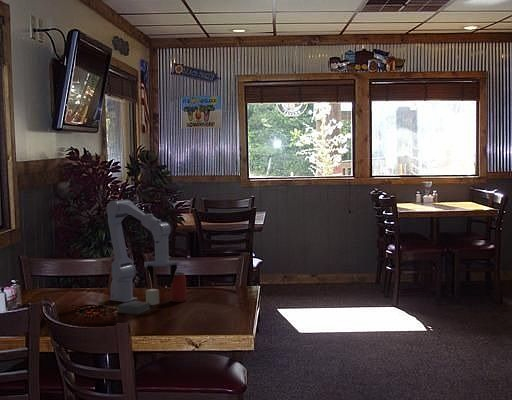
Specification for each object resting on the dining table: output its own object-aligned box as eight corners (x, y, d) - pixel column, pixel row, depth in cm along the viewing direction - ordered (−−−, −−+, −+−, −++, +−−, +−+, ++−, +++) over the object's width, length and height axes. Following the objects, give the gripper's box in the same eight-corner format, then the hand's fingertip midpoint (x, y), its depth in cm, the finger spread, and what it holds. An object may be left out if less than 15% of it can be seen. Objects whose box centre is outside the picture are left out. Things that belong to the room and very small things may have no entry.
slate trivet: (118, 312, 276) (118, 305, 276) (131, 307, 284) (131, 300, 284) (137, 314, 272) (136, 307, 272) (149, 309, 280) (149, 302, 280)
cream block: (146, 304, 291) (145, 290, 290) (152, 302, 294) (152, 288, 294) (152, 305, 289) (152, 291, 288) (159, 303, 292) (158, 289, 291)
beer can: (183, 302, 292) (183, 275, 291) (169, 302, 294) (168, 274, 293) (188, 299, 299) (187, 272, 298) (173, 299, 300) (173, 272, 299)
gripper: (144, 253, 280) (145, 286, 281) (179, 252, 283) (180, 284, 284) (143, 250, 287) (144, 282, 288) (178, 249, 290) (178, 281, 291)
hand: (162, 283), depth 287 cm, fingers open, 7 cm apart
